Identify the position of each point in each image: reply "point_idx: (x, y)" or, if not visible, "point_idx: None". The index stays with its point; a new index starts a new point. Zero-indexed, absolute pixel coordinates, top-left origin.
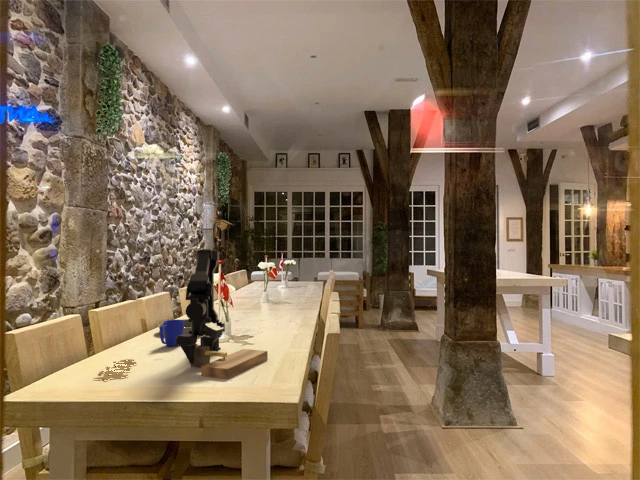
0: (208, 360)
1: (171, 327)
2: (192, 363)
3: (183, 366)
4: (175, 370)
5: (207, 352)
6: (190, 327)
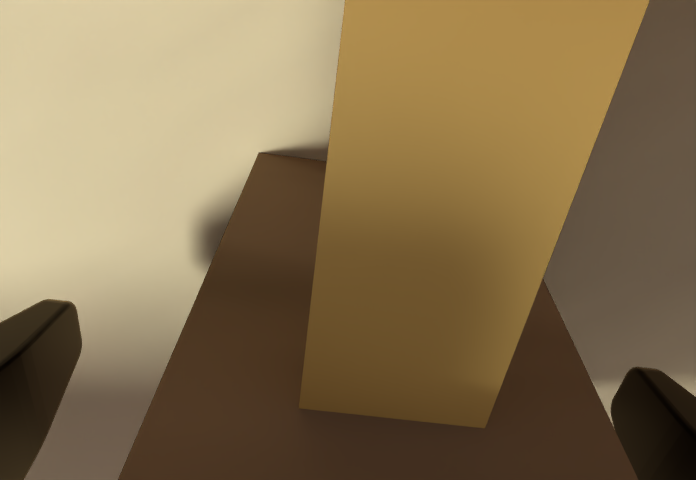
0: (298, 206)
1: None
2: (663, 375)
3: None
4: None
5: (514, 312)
6: None
